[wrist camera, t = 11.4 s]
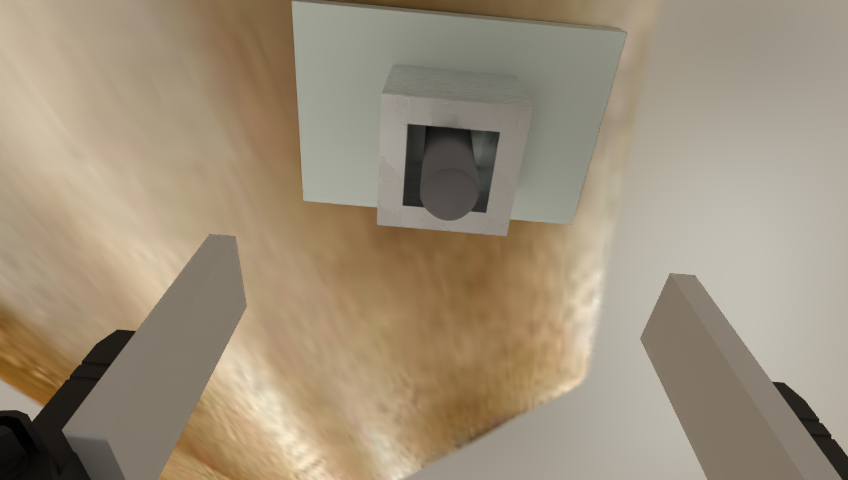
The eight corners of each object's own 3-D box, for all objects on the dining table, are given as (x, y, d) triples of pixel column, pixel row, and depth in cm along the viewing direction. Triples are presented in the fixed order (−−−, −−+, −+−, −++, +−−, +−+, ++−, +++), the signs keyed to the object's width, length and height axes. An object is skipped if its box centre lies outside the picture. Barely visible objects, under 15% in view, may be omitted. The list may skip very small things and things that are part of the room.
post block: (298, -3, 27) (213, 33, 17) (618, 28, 27) (719, 81, 17) (308, 190, 33) (251, 298, 23) (567, 213, 33) (618, 330, 24)
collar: (392, 64, 27) (381, 93, 22) (516, 75, 27) (533, 107, 22) (388, 177, 31) (376, 224, 26) (496, 187, 31) (506, 236, 26)
